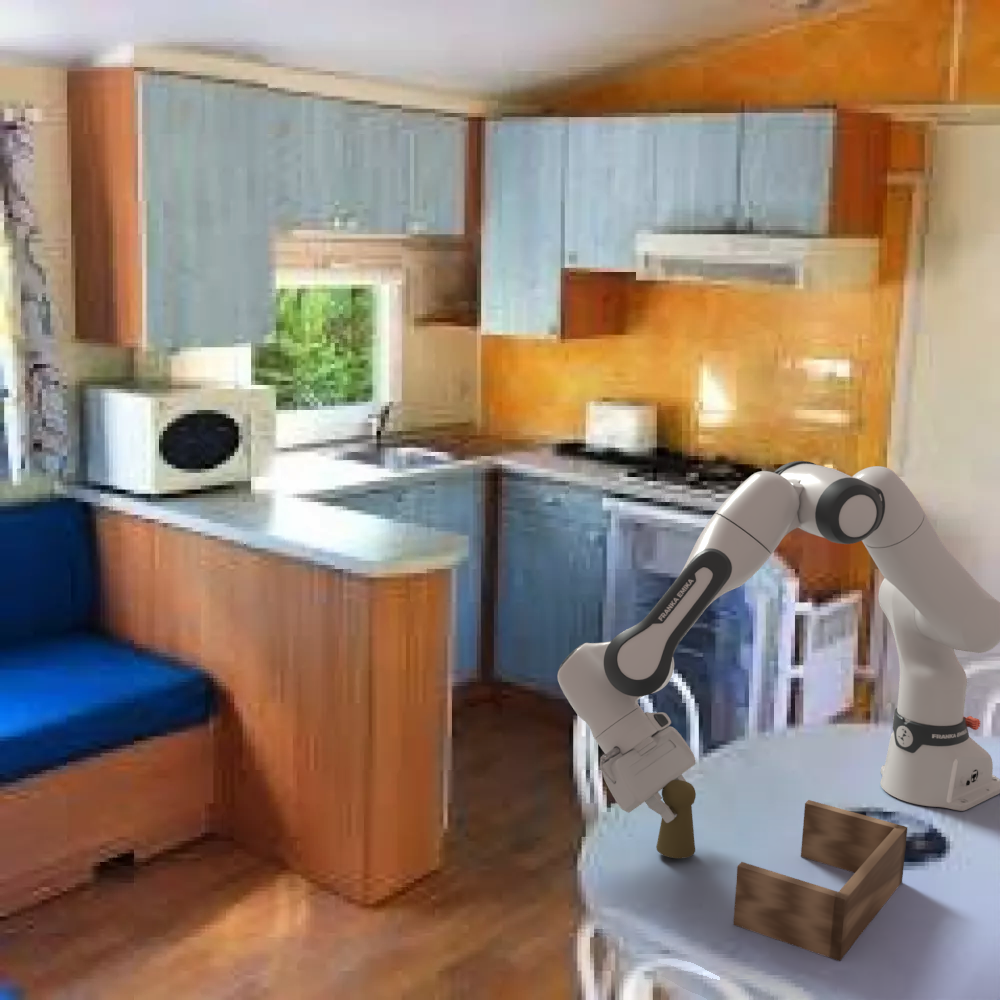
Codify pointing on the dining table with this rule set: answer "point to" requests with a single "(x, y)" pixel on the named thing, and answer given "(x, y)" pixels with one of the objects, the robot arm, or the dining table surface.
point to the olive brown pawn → (678, 821)
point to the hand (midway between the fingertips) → (681, 813)
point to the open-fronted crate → (814, 909)
